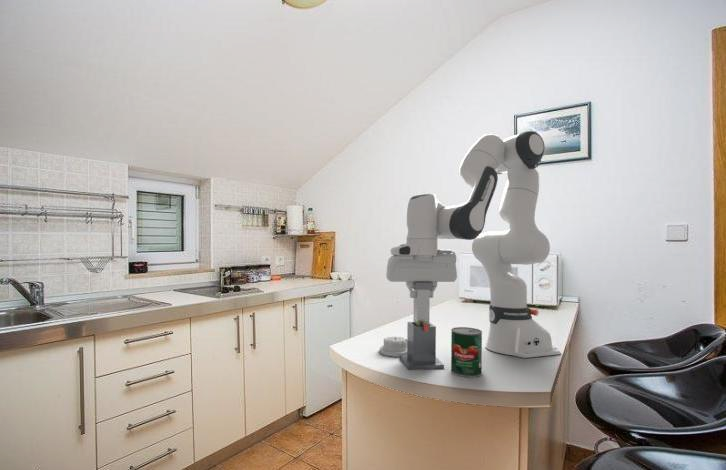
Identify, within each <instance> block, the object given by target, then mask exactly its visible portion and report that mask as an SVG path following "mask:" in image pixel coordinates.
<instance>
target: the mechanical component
mask: <svg viewBox="0 0 726 470" xmlns="http://www.w3.org/2000/svg"><path fill="white" fill-rule="evenodd" d="M379 353H380V354H381V355H384V356H386V357H396V358H400V355H407V338H405V337H401V336H387V337H384V338H383V345H381V346H380V347H379Z"/></svg>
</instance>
